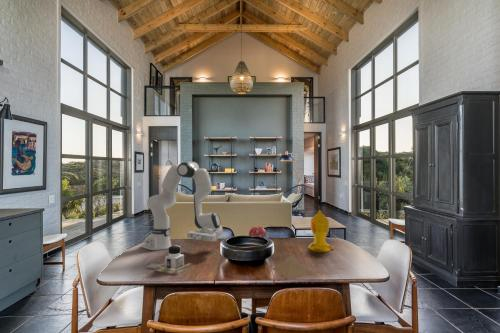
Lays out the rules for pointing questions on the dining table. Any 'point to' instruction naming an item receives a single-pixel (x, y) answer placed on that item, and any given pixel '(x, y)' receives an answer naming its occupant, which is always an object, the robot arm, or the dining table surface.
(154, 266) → the slate tile
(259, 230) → the decorative mushroom
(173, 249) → the container
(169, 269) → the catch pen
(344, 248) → the dining table surface
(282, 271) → the model pyramid
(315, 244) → the yellow statue
